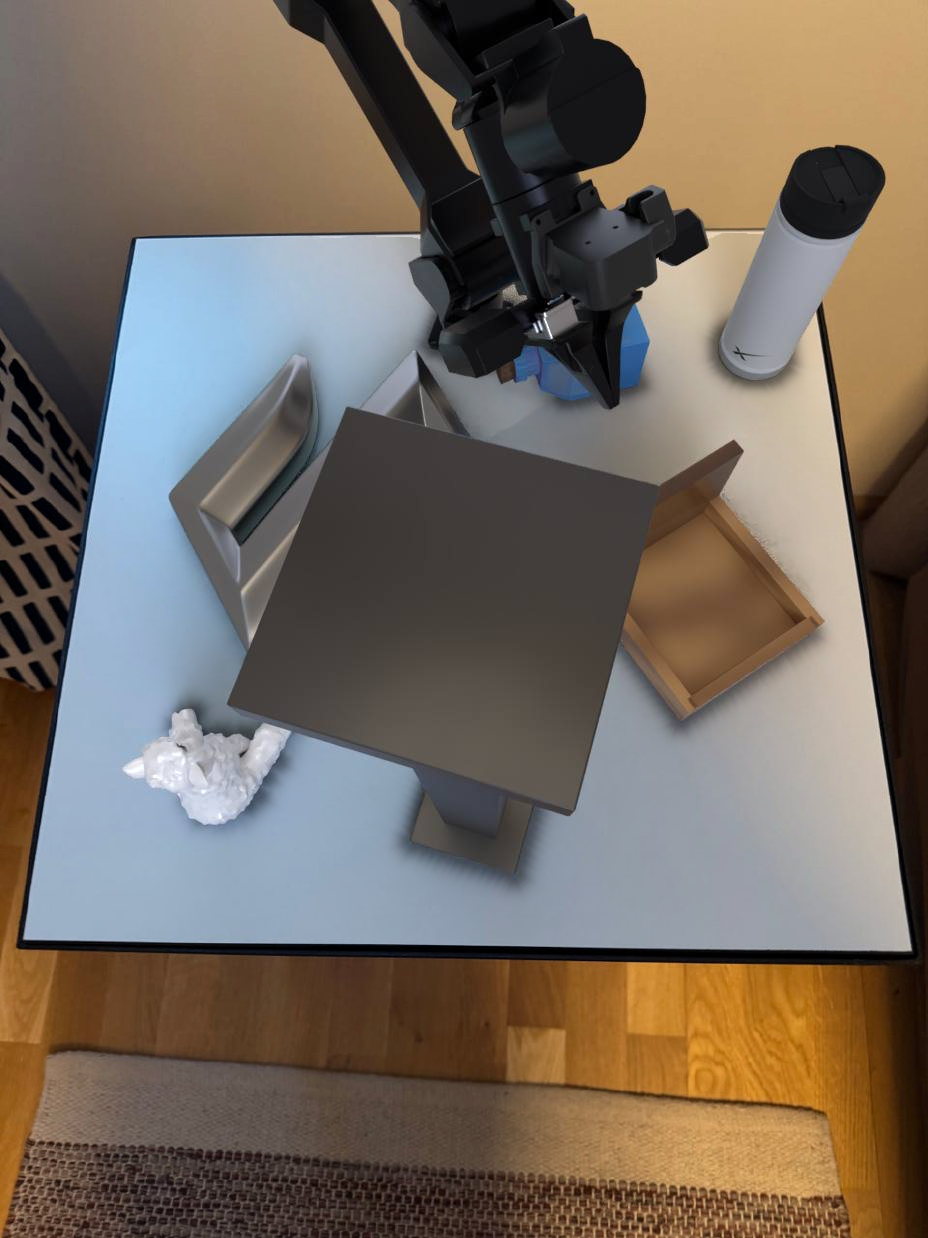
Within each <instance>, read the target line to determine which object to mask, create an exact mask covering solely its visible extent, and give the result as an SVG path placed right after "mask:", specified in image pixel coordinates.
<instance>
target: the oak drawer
mask: <svg viewBox="0 0 928 1238" xmlns="http://www.w3.org/2000/svg"><path fill="white" fill-rule="evenodd" d="M744 452H745V450H744V449H743V448H742V447H741V445H740V444H739V443H738V442H737V441H736V439H732V440H730V441H728V442H727V443H725V444H723V445H722V446H721V447H719V448H717V449H716V450H714V451H712V452H711V453H709V454H707V455H706V456H704V457H703V458H701V459H700V460H698V461H696V462H695V463H693V464H692V465H689V466H688V467H687V468H685V469H683V470H681V471H680V472H679V473H677V474H675V475H674V476H672V477H670V478H669V479H667V480H665V481H664V482H663V483H661V484H660V485H659V487H660V488H659V492H658V496H657V500H656V503H655V507H654V511H653V515H652V519H651V523H650V526H649V530H648V534H647V538H646V542H645V546H644V549H643V553H642V557H641V561H640V565H639V569H638V572H637V576H636V580H635V584H634V588H633V592H632V596H631V599H630V603H629V607H628V611H627V615H626V619H625V622H624V626H623V630H622V634H621V638H620V642H619V643H621V645H622V646H623V647H624V648H625V650H626V652H628V654H629V655H630V657H631V658H632V659H633V661H634V662H635V663H636V664H637V666H638V667H639V668H640V670H641V671H642V673H643V674H644V676H645V677H646V678H647V679H648V681H649V682H650V683H651V685H652V686H653V687H654V689H655V690H656V691H657V692H658V694H659V695H660V696H661V698H662V700H663V701H664V702H665V703H666V704H667V706H668V707H669V709H670V710H671V711H672V713H673V714H674V715H675V716H676V719H678V721H679V722H682V721H684V720H685V719H686V718H689V717H690V716H691V715H693V714H694V713H696V712H698V711H699V710H700V709H701V708H703V707H704V706H706V705H708V704H709V703H710V702H712V701H713V700H715V699H716V698H717V697H719V696H720V695H722V694H723V693H725V692H726V691H728V690H729V689H731V688H732V687H734V686H735V685H737V684H738V683H740V682H741V681H743V680H744V679H746V678H747V677H749V676H750V675H751V674H753V673H755V672H756V671H758V670H759V669H760V668H762V667H763V666H765V665H766V664H768V663H769V662H771V661H772V660H774V659H775V658H777V657H778V656H780V655H781V654H783V653H784V652H786V651H787V650H788V649H790V648H791V647H793V646H794V645H796V644H798V643H799V642H801V641H802V640H803V639H805V638H806V637H808V636H810V635H811V634H812V633H813V632H815V631H816V630H817V629H818V628H819V627H820V626H822V625H824V624H825V619H823V617H822V616H821V615H820V614H819V613H818V611H817V610H816V609H815V608H814V607H813V605H812V604H811V603H810V602H809V600H807V598H806V597H805V596H804V594H802V592H801V591H800V590H799V589H798V587H797V586H796V585H795V584H794V583H793V582H792V581H791V579H790V578H789V577H788V576H787V574H785V572H784V570H782V569H781V567H780V566H779V565H778V564H777V563H776V561H775V560H774V558H772V557H771V555H770V554H769V553H768V552H767V550H765V548H764V547H763V546H762V544H760V542H759V541H758V540H757V539H756V538H755V536H754V535H753V533H752V532H751V531H750V530H749V529H748V528H747V527H746V526H745V525H744V523H743V522H742V521H741V519H739V517H738V516H737V515H736V514H735V513H734V512H733V510H732V509H731V508H730V507H729V506H728V504H727V503H726V502H725V500H723V498H722V497H721V496H720V495H721V493H722V491H723V490H724V488H725V486H726V484H727V483H728V481H729V480H730V477H731V476H732V473H733V472H734V470H735V468H736V467H737V465H738V463H739V461H740V460H741V458H742V456H743V454H744Z"/></svg>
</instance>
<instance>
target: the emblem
mask: <svg viewBox="0 0 928 1238" xmlns="http://www.w3.org/2000/svg"><path fill="white" fill-rule="evenodd" d="M318 406H319V405H318V398H317V391H316V385H315V380H314V375H313V372H312V367H311V365H310V362H309V359H308V357H307V356H305V355H302V354H300V353H295V354H293V355H292V356H291V357H290V358H289V359H288V360H287V361H286V362H285V363H284V364H283V366H282V367H281V368H280V370H278V371H277V373H276V374H275V376H273V378H272V379H271V380H270V381H269V382H268V383H267V385H266V386H265V387H264V388H263V389H262V390H261V391H260V392H259V393H258V394H257V396H255V398H254V399H253V400H252V401H251V402H250V403H249V404H248V405H247V406H246V407H245V408H244V409H243V410H242V411H241V413H240V414H239V415H238V416H237V417H236V418H235V419H234V420H233V421H232V422H231V424H230V425H229V426H228V427H227V428H226V429H225V430H224V431H223V432H222V433H221V435H219V437H218V438H217V439H216V440H215V441H214V442H213V443H212V445H211V446H210V447H208V449H207V450H206V451H205V452H204V453H203V455H201V457H200V458H199V459H198V460H197V461H196V462H195V463H194V465H192V467H191V468H190V469H189V470H188V471H187V472H186V473H185V474H184V475H183V477H182V478H181V479H180V480H179V481H178V482H177V483H176V484H175V485H174V486H173V487H172V489H171V490H170V491H169V493H168V501H169V504H170V506H171V508H172V510H173V512H174V514H175V516H176V519H177V520H178V522H179V524H180V526H181V528H182V530H183V532H184V534H185V536H186V538H187V540H188V542H189V543H190V546H191V547H192V550H193V551H194V553H195V555H196V557H197V560H198V561H199V563H200V566H201V567H202V569H203V571H204V572H205V575H206V576H207V578H208V581H209V582H210V585H211V586H212V588H213V590H214V592H215V594H216V596H217V598H218V600H219V602H220V604H221V606H222V608H223V610H224V611H225V613H226V616H227V617H228V619H229V622H230V624H231V625H232V627H233V629H234V631H235V632H236V635H237V636H238V639H239V640H240V642H241V644H242V647H243V648H244V649H245V651H246V653H247V652H248V650H249V647H250V645H251V642H252V640H253V637H254V635H255V632H256V630H257V627H258V625H259V622H260V620H261V617H262V615H263V612H264V610H265V608H266V605H267V603H268V600H269V598H270V595H271V593H272V590H273V588H274V585H275V583H276V580H277V578H278V575H279V573H280V570H281V568H282V565H283V563H284V560H285V558H286V555H287V553H288V550H289V548H290V546H291V543H292V541H293V538H294V536H295V533H296V531H297V528H298V526H299V523H300V521H301V518H302V516H303V513H304V511H305V508H306V506H307V503H308V501H309V498H310V496H311V493H312V491H313V489H314V486H315V484H316V481H317V479H318V476H319V474H320V471H321V469H322V466H323V464H324V461H325V459H326V456H327V454H328V451H329V449H330V446H331V444H332V441H333V439H334V436H333V437H332V438H331V440H330V441H329V442H328V443H327V444H326V445H325V447H324V448H323V449H322V450H321V451H320V452H319V453H318V454H317V456H315V458H314V459H313V460H312V461H311V462H310V463H309V465H308V466H307V467H306V468H305V469H304V470H303V472H302V473H301V474H299V473H300V471H301V470H302V469H303V467H304V466H305V464H306V462H307V461H308V459H309V457H310V455H311V453H312V452H313V451H312V450H313V448H314V445H315V442H316V437H317V433H318V426H319V407H318ZM358 409H361V410H365V411H369V412H373V413H377V414H380V415H384V416H388V417H392V418H396V419H400V420H404V421H408V422H412V423H416V424H420V425H424V426H428V427H432V428H435V429H439V430H443V431H447V432H451V433H455V434H459V435H463V436H467V437H471V438H472V436H471V435H470V433H469V431H468V430H467V428H466V427H465V425H464V424H463V422H462V420H461V419H460V417H459V415H458V414H457V412H456V411H455V409H454V407H453V405H452V404H451V403H450V401H449V399H448V398H447V396H446V394H445V393H444V391H443V389H442V388H441V386H440V385H439V383H438V382H437V380H436V378H435V376H434V375H433V373H432V372H431V370H430V368H429V367H428V365H427V364H426V362H425V360H424V359H423V358H422V355H420V353H419V352H418V350H417V349H413V350H411V351H410V352H409V353H408V354H407V355H406V356H405V357H404V359H402V360H401V362H400V363H399V364H398V365H397V366H396V367H395V368H394V370H392V372H390V373H389V375H388V376H387V377H386V378H385V380H384V381H383V382H382V383H380V385H379V386H378V387H377V388H376V389H375V391H374V392H373V393H372V394H371V395H370V396H369V397H368V398H367V399H366V400H365V402H364V403H363V404H362V405H361V406H360V407H359V408H358ZM298 474H299V476H298ZM297 476H298V477H297ZM296 477H297V478H296ZM295 478H296V480H295ZM294 480H295V481H294ZM293 481H294V482H293ZM292 482H293V483H292ZM289 486H290V487H289ZM283 493H284V494H283Z"/></svg>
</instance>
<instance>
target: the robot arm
mask: <svg viewBox="0 0 928 1238" xmlns="http://www.w3.org/2000/svg"><path fill="white" fill-rule="evenodd" d="M387 1H388V2H389V3H390V4H391V5H392V6H393V7H394V8H395V9H396V11H397V12H398V14H399V22H400V28H401V33H402V41H403V46H404V48H405V49H406V50H407V51H408V53H409V54H410V56H411V59H412V60H413V62H414V64H415V65H416V67H417V68H418V69H419V70H420V71H421V72H422V73H423V74H424V75H426V77H427V78H428V79H430V80H431V81H432V82H433V83H435V84H436V85H437V86H439V88H441V89H443V90H444V91H445V92H446V93H447V94H448V95H449V96H451V97H452V98H453V99H454V100H455V104H454V107H453V108H452V112H451V126H452V127H453V130H455V131H460V130H462V131H463V134H464V137H465V139H466V142H467V144H468V147H469V151H470V152H471V155H472V158H473V160H474V163H475V165H476V168H477V170H478V173H476V172H475V171H473V170H471V169H469V168H468V166H467V165H466V163H465V162H464V159H463V158H462V156H461V154H460V153H459V151H458V149H457V148H456V146H455V144H454V142H453V140H452V139H451V137H450V135H449V134H448V132H447V130H446V128H445V126H444V125H443V122H442V121H441V120H440V119H441V118H439V116H438V113H437V112H436V111H435V109H434V107H433V105H432V103H431V102H430V100H429V98H428V96H427V94H426V93H425V91H424V89H423V87H422V86H421V84H420V82H419V80H418V78H417V77H416V75H415V73H414V71H413V70H412V68H411V67H410V65H409V63H408V61H407V59H406V57H405V56H404V54H403V52H402V50H401V48H400V47H399V45H398V43H397V41H396V39H395V38H394V36H393V34H392V33H391V31H390V29H389V27H388V26H387V24H386V22H385V20H384V18H383V17H382V15H381V13H380V11H379V10H378V8H377V6H376V5H375V3H374V1H373V0H272V2H273V3H274V5H275V6H276V8H277V10H278V11H279V12H280V14H281V16H282V17H283V18H284V20H285V22H286V24H288V26H290V27H291V29H292V28H293V29H294V30H296V31H298V32H299V33H302V34H304V36H307V37H309V38H311V39H313V40H315V41H316V42H318V43H321V45H323V46H324V47H325V49H326V50H327V52H328V53H329V55H330V57H331V59H332V60H333V62H334V64H335V66H336V67H337V69H338V71H339V73H340V75H341V76H342V78H343V79H344V81H345V83H346V85H347V87H348V89H349V90H350V92H351V94H352V95H353V97H354V99H355V101H356V102H357V104H358V106H359V108H360V109H361V112H362V113H363V115H364V116H365V118H366V120H367V122H368V123H369V125H370V127H371V128H372V130H373V132H374V134H375V135H376V137H377V139H378V140H379V142H380V144H381V146H382V148H383V150H384V151H385V152H386V154H387V156H388V158H389V160H390V161H391V164H392V165H393V167H394V168H395V170H396V172H397V173H398V175H399V178H400V179H401V181H402V182H403V183H404V186H405V187H406V189H407V191H408V193H409V195H410V196H411V198H412V200H413V202H414V203H415V205H416V207H417V209H418V211H419V214H420V215H419V223H420V224H419V246H420V247H419V250H420V254H421V255H420V256H417V257H416V258H414V259H412V260H411V261H409V262H408V263H407V264H408V268H409V272H410V275H411V279H412V281H413V285H414V286H415V287H416V289H417V291H419V293H420V294H421V295H422V296H423V298H424V299H425V300H426V301H427V303H428V305H429V306H430V307H431V309H433V311H434V312H435V313H436V314H437V315H436V318H435V320H434V323H433V326H432V328H431V331H430V333H429V336H428V338H427V345H428V347H429V348H430V349H432V350H433V349H434V350H437V351H439V353H440V356H441V357H442V360H443V362H444V364H445V367H446V369H447V371H448V373H449V374H450V373H451V374H454V375H459V376H464V377H468V378H472V379H479V378H482V377H485V376H488V375H489V374H491V373H493V372H496V370H497V369H498V368H500V367H502V366H504V365H505V364H507V363H509V362H511V361H512V360H514V359H516V358H518V357H519V356H521V353H522V350H523V347H524V345H526V346H535V347H542V348H543V349H545V350H546V351H547V352H548V353H549V354H551V355H552V356H553V357H554V358H555V359H557V360H558V361H559V362H560V363H561V364H562V365H563V366H564V367H565V368H566V369H567V370H568V371H569V372H571V374H572V375H573V376H574V377H575V378H576V379H577V380H578V381H579V382H580V383H581V385H582V386H583V387H584V388H585V389H586V390H587V391H588V392H589V393H590V394H591V395H592V396H591V397H593V399H594V400H595V401H596V402H597V403H598V404H599V405H600V406H601V407H602V408H603V409H605V410H608V411H611V410H613V409H615V408H617V407H618V406H620V403H621V389H620V366H621V358H620V357H621V343H622V334H623V327H624V323H625V321H626V319H627V317H628V315H629V313H630V311H631V309H632V307H633V306H634V304H635V303H636V304H637V303H638V302H640V301H642V299H643V295H644V292H643V290H642V288H644V289H646V288H648V287H650V286H652V285H653V284H654V283H656V282H657V280H658V277H659V276H658V266H657V260H659V261H660V262H662V263H664V264H666V265H668V266H670V267H678V266H680V265H682V264H683V263H685V262H687V261H689V260H690V259H692V258H694V257H695V256H698V255H699V254H701V253H702V252H704V251H706V250H707V249H708V250H709V247H710V243H709V239H708V236H707V232H706V228H705V223H704V221H703V220H702V218H701V217H700V216H699V215H698V214H697V213H696V212H695V211H693V210H692V209H691V208H689V207H685V208H679V209H672V206H671V203H670V200H669V197H668V195H667V191H666V189H665V188H663V187H659V186H658V185H654V184H649V185H648V186H645V187H643V188H642V189H640V190H639V191H636V192H635V193H633V194H631V195H629V196H627V198H626V199H625V203H621V204H620V205H618V206H616V207H614V208H613V209H608V208H607V207H606V206H605V204H604V202H603V201H602V199H601V196H600V192H599V190H598V188H597V187H596V185H594V182H593V179H592V178H588V179H584V180H582V178H581V176H580V174H579V173H581V172H586V171H590V170H593V169H597V168H600V167H604V166H607V165H611V164H614V163H616V162H618V161H619V160H621V159H622V158H623V157H624V156H625V155H627V154H628V153H629V152H630V151H631V150H632V148H633V146H634V145H635V143H636V142H637V141H638V139H639V137H640V134H641V132H642V130H643V127H644V122H645V119H646V114H647V93H646V85H645V80H644V77H643V75H642V71H641V69H640V68H639V67H637V66H636V65H635V63H634V61H633V60H632V58H631V57H630V55H629V54H628V53H626V51H625V50H624V49H623V48H621V46H619V45H617V44H615V43H614V42H612V41H610V40H607V39H602V38H597V37H596V38H594V37H595V36H594V35H593V31H592V28H591V24H590V21H589V18H588V16H587V15H586V14H585V13H584V12H583V13H580V14H579V15H577V16H576V14H575V13H576V9H575V7H574V6H573V5H572V4H571V3H570V2H569V1H567V0H387ZM513 285H514V287H515V290H516V292H517V295H518V296H526V299H524V300H523V301H521V302H519V303H517V304H515V305H514V303H513V301H509V300H504V290H507V289H508V288H510V287H511V286H513ZM640 289H641V290H640ZM560 296H562V298H560V299H558V300H557V301H555V302H553V303H551V302H552V301H553V300H555V298H558V297H560ZM550 303H551V304H550ZM576 304H577V305H576ZM574 305H575V306H574Z"/></svg>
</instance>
